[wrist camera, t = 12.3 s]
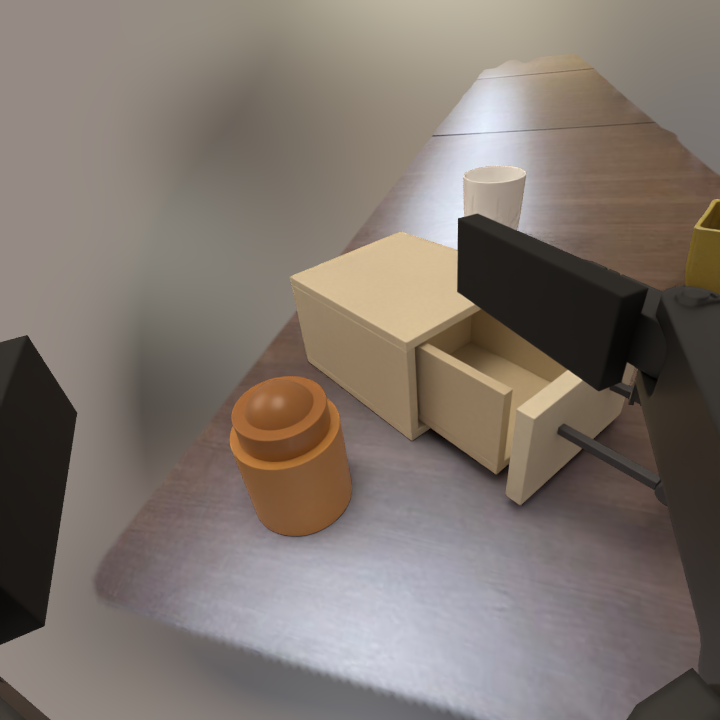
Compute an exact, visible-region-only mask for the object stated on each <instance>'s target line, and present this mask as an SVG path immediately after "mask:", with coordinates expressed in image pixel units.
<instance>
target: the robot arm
mask: <svg viewBox="0 0 720 720" xmlns="http://www.w3.org/2000/svg"><path fill="white" fill-rule="evenodd" d="M457 292H458V293H459V294H461V295H462V296H464V297H465V298H467V299H468V300H469V301H471V302H472V303H474V304H475V305H476V306H478V307H479V308H481V309H482V310H484V311H485V312H486V313H488V314H489V315H491V316H492V317H494V318H495V319H496V320H498V321H499V322H501V323H502V324H503V325H505V326H506V327H508V328H509V329H511V330H512V331H513V332H515V333H516V334H518V335H519V336H520V337H522V338H523V339H525V340H526V341H528V342H529V343H530V344H532V345H533V346H535V347H536V348H538V349H539V350H540V351H542V352H543V353H545V354H546V355H547V356H549V357H550V358H552V359H553V360H555V361H556V362H557V363H559V364H560V365H562V366H563V367H564V368H566V369H567V370H569V371H570V372H572V373H573V374H574V375H576V376H577V377H579V378H580V379H582V380H583V381H584V382H586V383H587V384H589V385H590V386H591V387H593V388H594V389H596V390H597V391H602V390H604V389H606V388H609V387H611V386H614V385H616V384H618V383H621V382H622V379H623V375H624V372H625V369H626V365H627V362H628V363H629V364H631V365H633V366H634V367H636V368H637V369H638V372H637V375H636V379H635V382H634V385H633V388H632V391H631V395H630V398H629V405H633V404H634V401H635V399H636V398H637V397H639V398H640V402H641V404H640V406H642V409H643V413H644V417H645V421H646V425H647V429H648V433H649V437H650V440H651V444H652V448H653V452H654V456H655V460H656V464H657V467H658V471H659V475H660V479H661V483H662V487H663V491H664V495H665V498H666V502H667V506H668V510H669V514H670V518H671V522H672V526H673V529H674V533H675V537H676V541H677V545H678V549H679V553H680V557H681V560H682V564H683V568H684V572H685V576H686V580H687V584H688V588H689V591H690V595H691V599H692V603H693V607H694V611H695V615H696V618H697V622H698V626H699V631H700V639H701V648H700V656H699V664H698V672H699V675H698V674H697V673H696V671H695V670H694V669H693V668H691V669H690V670H688V671H687V672H685V673H684V674H682V675H681V676H679V677H678V678H676V679H675V680H673V681H672V682H670V683H669V684H667V685H666V686H664V687H663V688H661V689H660V690H658V691H657V692H655V693H654V694H652V695H651V696H649V697H648V698H646V699H645V700H643V701H642V702H640V703H639V704H637V705H636V707H635V708H634V710H633V711H632V713H631V714H630V715H629V717H628V718H627V720H720V294H718V293H716V292H713V291H711V290H707V289H703V288H699V287H691V286H678V287H672V288H669V289H666V290H665V291H664V292H662V291H660V290H657V289H655V288H653V287H650V286H648V285H646V284H644V283H641V282H639V281H637V280H634V279H632V278H630V277H627V276H625V275H620V273H618V272H616V271H613V270H611V269H609V270H608V269H607V268H606V267H604V266H602V265H600V264H597V263H595V262H593V261H588V260H584V259H581V258H579V257H576V256H574V255H572V254H570V253H567V252H565V251H563V250H560V249H558V248H556V247H554V246H551V245H549V244H547V243H544V242H542V241H540V240H537V239H535V238H533V237H531V236H528V235H526V234H524V233H521V232H519V231H517V230H515V229H512V228H510V227H508V226H505V225H503V224H501V223H499V222H496V221H494V220H492V219H489V218H487V217H485V216H482V215H480V214H478V213H477V214H473V215H469V216H466V217H462V218H458V261H457ZM76 417H77V412H76V410H75V409H74V407H73V405H72V404H71V402H70V401H69V399H68V398H67V396H66V395H65V393H64V391H63V390H62V389H61V387H60V386H59V384H58V382H57V381H56V379H55V378H54V376H53V374H52V373H51V371H50V370H49V368H48V367H47V365H46V364H45V362H44V361H43V359H42V357H41V356H40V354H39V353H38V351H37V349H36V348H35V347H34V345H33V343H32V342H31V340H30V339H29V337H28V336H27V335H26V336H23V337H18V338H15V339H11V340H7V341H4V342H0V645H1V644H3V643H6V642H8V641H10V640H13V639H15V638H18V637H20V636H22V635H25V634H27V633H29V632H31V631H34V630H36V629H39V628H41V627H43V626H45V619H46V613H47V606H48V599H49V593H50V587H51V580H52V573H53V566H54V560H55V554H56V547H57V540H58V534H59V528H60V521H61V514H62V508H63V501H64V495H65V488H66V482H67V476H68V469H69V463H70V455H71V450H72V443H73V436H74V430H75V423H76ZM0 720H50V719H49V718H48V717H47V716H45V715H44V714H43V713H42V712H41V711H40V710H39V709H37V708H36V707H35V706H34V705H33V704H32V703H30V702H29V701H28V700H27V699H26V698H25V697H23V696H22V695H21V694H20V693H19V692H18V691H16V690H15V689H14V688H13V687H12V686H11V685H9V684H8V683H7V682H6V681H5V680H4V679H3V678H1V677H0Z"/></svg>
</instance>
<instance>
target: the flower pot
mask: <svg viewBox="0 0 720 720" xmlns="http://www.w3.org/2000/svg"><path fill="white" fill-rule="evenodd" d="M685 286H691V287H699V288H703V289H707V290H711V291H713V292H716V293H718V294H720V199H715V200H713V201H712V202H711V204H710V206H709V207H708V209H707V211H706V212H705V214H704V215H703V216H702V217H701V219H700V220H699V221H698V222H697V224H696V225H695V227H694V230H693V234H692V239H691V244H690V249H689V254H688V259H687V264H686V269H685Z"/></svg>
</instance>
